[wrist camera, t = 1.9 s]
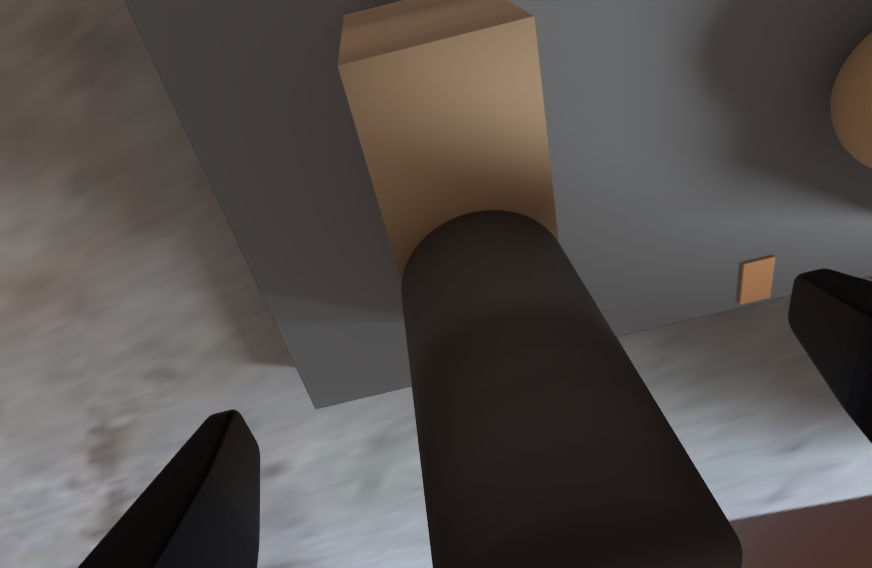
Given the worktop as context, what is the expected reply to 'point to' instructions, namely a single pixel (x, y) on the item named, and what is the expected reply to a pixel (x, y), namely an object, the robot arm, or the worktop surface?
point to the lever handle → (509, 313)
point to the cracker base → (569, 158)
